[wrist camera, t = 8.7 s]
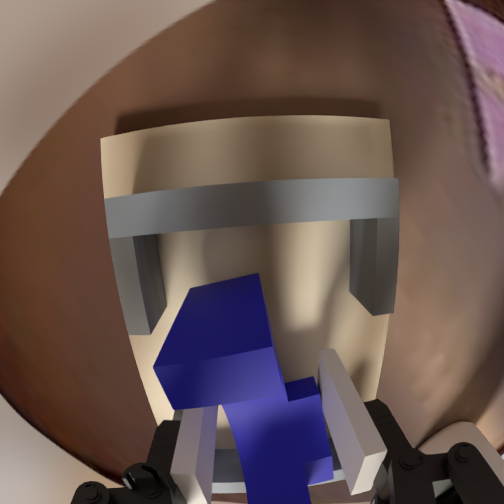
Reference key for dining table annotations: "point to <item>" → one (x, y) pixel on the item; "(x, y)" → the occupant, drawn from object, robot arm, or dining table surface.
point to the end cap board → (258, 241)
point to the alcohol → (464, 434)
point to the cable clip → (247, 389)
